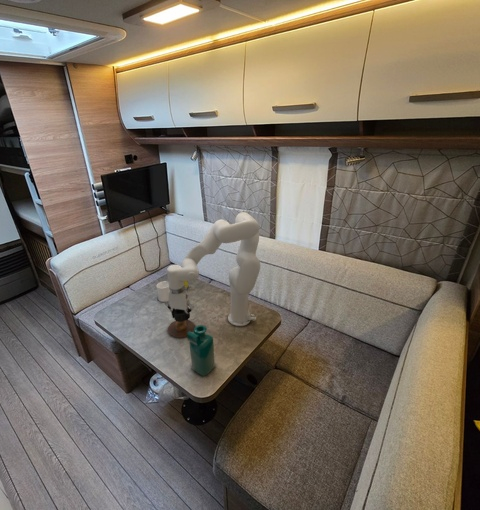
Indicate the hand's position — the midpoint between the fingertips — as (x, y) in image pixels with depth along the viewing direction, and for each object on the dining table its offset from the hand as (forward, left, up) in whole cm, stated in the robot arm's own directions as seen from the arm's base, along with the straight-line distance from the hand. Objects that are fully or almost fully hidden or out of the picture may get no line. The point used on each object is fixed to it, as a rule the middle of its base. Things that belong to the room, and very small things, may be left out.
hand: (181, 317), depth 146 cm
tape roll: (0, 0, 0) cm, 0 cm away
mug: (+22, -26, -8) cm, 35 cm away
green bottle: (-20, +22, -8) cm, 31 cm away
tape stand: (0, 0, -8) cm, 8 cm away
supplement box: (+16, -38, -8) cm, 42 cm away
